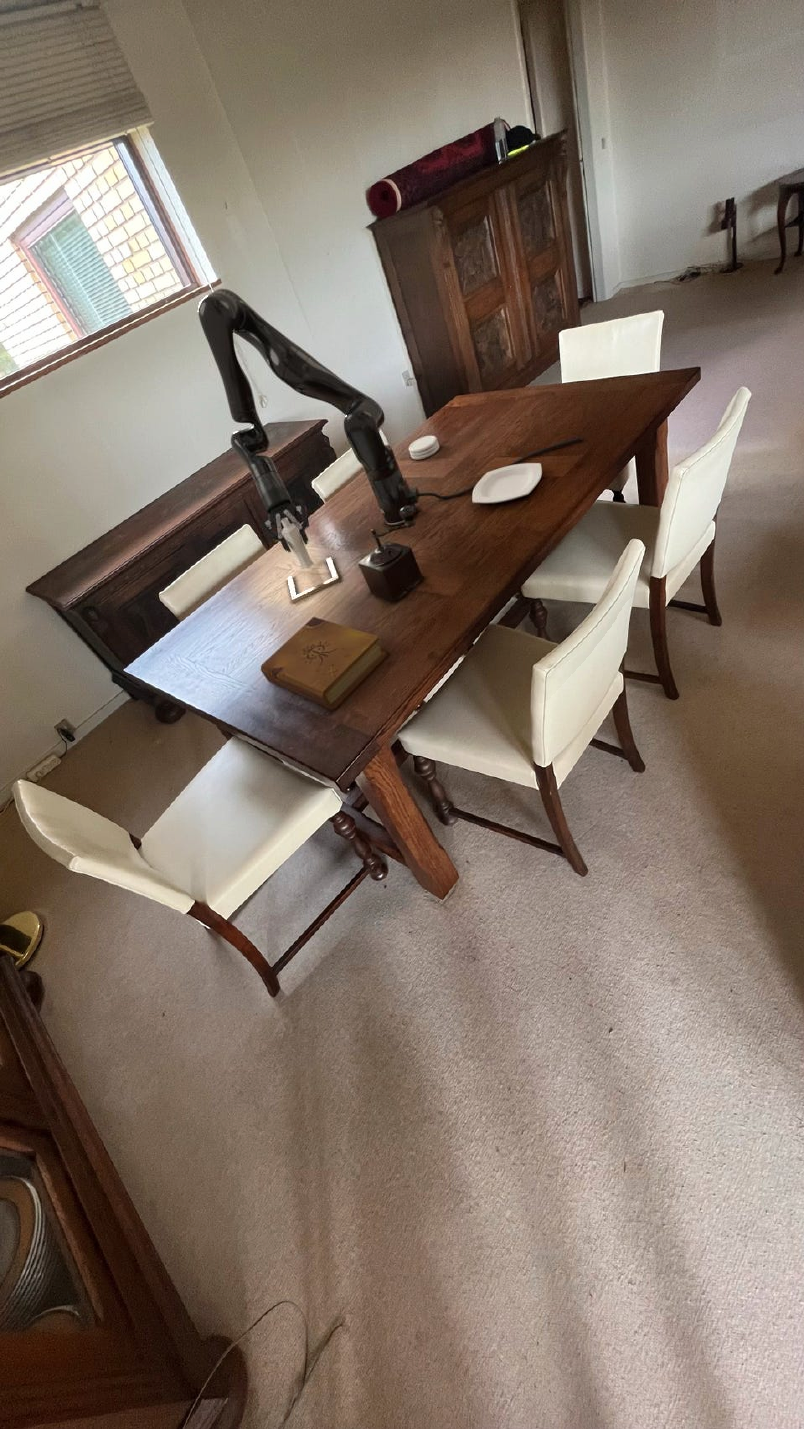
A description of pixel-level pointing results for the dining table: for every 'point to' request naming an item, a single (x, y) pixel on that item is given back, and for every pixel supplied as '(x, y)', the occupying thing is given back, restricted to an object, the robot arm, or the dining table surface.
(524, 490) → the plate
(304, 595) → the brass frame
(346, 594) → the dining table surface
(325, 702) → the diary
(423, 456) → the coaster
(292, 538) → the white faceted vase
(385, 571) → the black coffee grinder
